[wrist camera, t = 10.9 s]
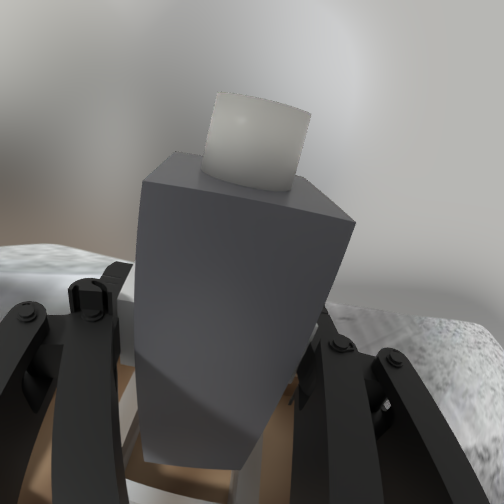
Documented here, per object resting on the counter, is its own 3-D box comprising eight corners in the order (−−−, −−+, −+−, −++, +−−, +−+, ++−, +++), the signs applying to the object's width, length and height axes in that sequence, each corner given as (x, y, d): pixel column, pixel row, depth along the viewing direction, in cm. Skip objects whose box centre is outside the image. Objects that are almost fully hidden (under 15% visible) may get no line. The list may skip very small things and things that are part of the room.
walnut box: (-11, 500, 7) (-41, 478, 5) (87, 339, 23) (83, 304, 22) (341, 591, 8) (376, 587, 6) (326, 400, 24) (345, 370, 22)
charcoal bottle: (143, 461, 10) (161, 76, 4) (153, 390, 14) (187, 92, 8) (240, 470, 11) (384, 133, 5) (234, 400, 15) (318, 122, 9)
